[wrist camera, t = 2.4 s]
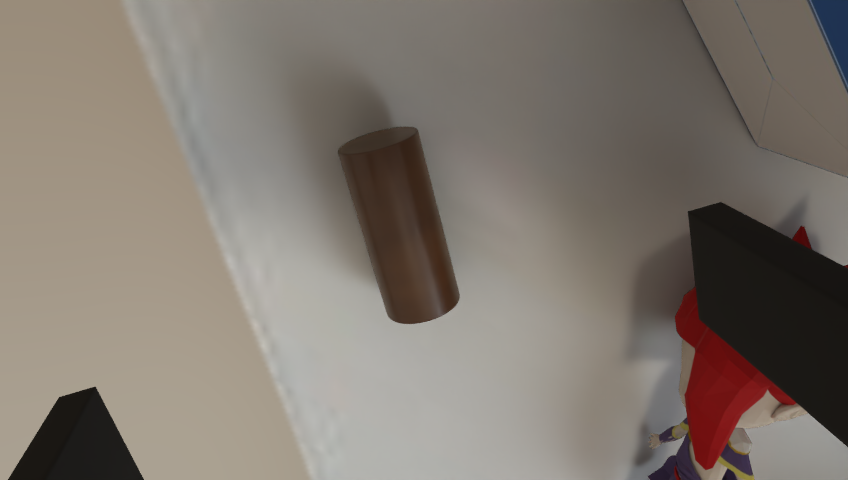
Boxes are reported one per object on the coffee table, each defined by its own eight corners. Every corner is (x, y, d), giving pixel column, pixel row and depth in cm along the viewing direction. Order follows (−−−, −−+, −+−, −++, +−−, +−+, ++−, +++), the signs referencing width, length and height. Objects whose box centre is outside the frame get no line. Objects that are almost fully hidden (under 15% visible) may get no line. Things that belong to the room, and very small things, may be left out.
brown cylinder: (327, 147, 22) (351, 158, 20) (399, 122, 23) (430, 131, 20) (377, 305, 24) (403, 333, 22) (440, 278, 25) (473, 302, 23)
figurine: (560, 535, 29) (647, 197, 24) (711, 507, 32) (814, 205, 27) (659, 670, 23) (797, 265, 18) (830, 621, 26) (985, 265, 22)
